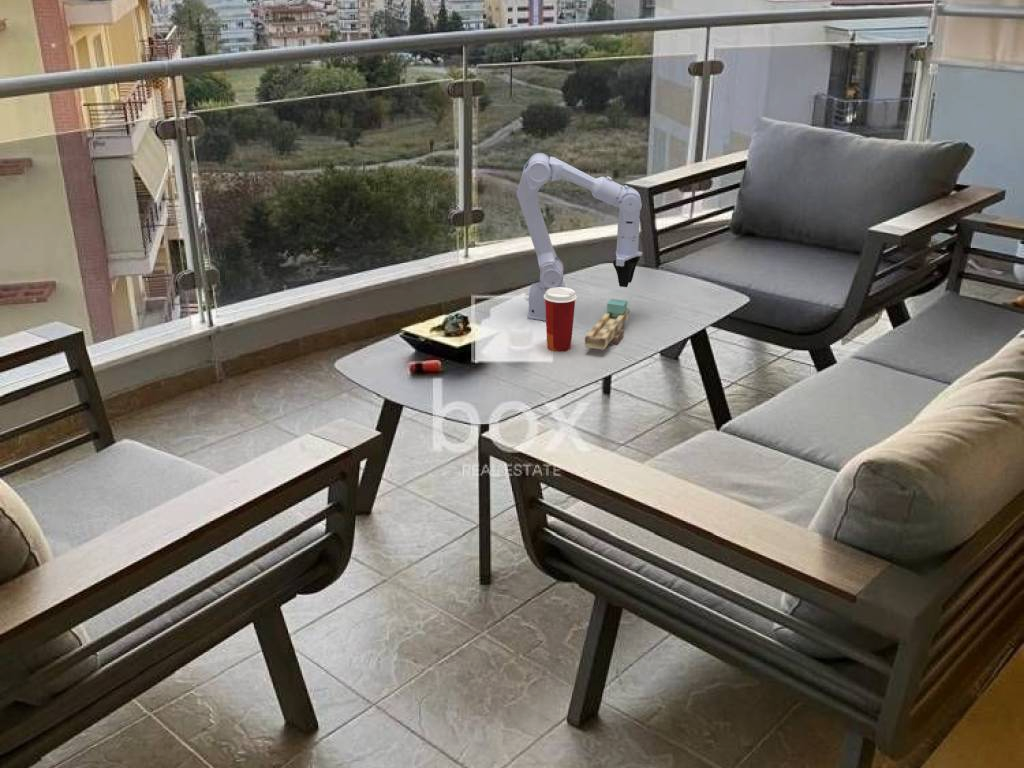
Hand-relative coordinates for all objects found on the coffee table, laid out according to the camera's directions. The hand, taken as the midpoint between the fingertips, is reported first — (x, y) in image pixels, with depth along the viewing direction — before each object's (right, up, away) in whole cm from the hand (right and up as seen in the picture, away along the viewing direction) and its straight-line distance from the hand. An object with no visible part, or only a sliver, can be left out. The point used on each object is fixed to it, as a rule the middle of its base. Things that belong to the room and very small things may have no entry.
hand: (625, 284), depth 273 cm
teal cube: (-3, -9, -4) cm, 10 cm away
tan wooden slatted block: (-6, -15, -9) cm, 19 cm away
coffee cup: (-19, -18, -15) cm, 30 cm away
